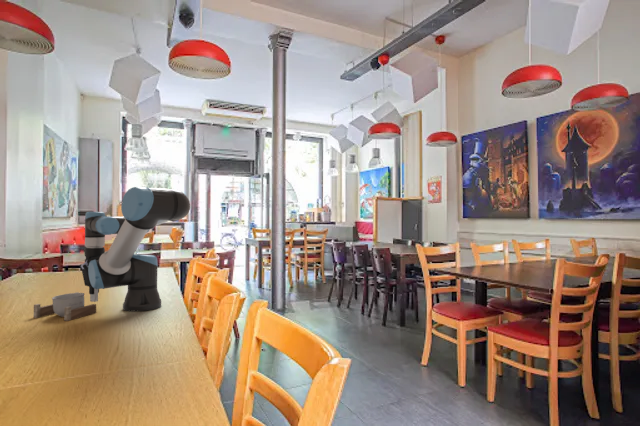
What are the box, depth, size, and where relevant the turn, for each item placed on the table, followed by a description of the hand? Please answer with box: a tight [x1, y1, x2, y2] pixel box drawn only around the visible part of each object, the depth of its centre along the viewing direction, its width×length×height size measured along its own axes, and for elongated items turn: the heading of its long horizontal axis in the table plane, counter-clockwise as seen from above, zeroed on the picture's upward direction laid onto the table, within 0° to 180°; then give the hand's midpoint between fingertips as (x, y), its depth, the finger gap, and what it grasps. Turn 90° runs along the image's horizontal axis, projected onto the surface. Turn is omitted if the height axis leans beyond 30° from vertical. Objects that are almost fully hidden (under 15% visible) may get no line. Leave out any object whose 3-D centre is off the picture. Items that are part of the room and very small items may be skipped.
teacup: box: [51, 291, 85, 318], centre depth 152 cm, size 14×11×8 cm
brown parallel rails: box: [33, 303, 97, 322], centre depth 150 cm, size 17×13×5 cm
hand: (94, 301), depth 163 cm, fingers closed
